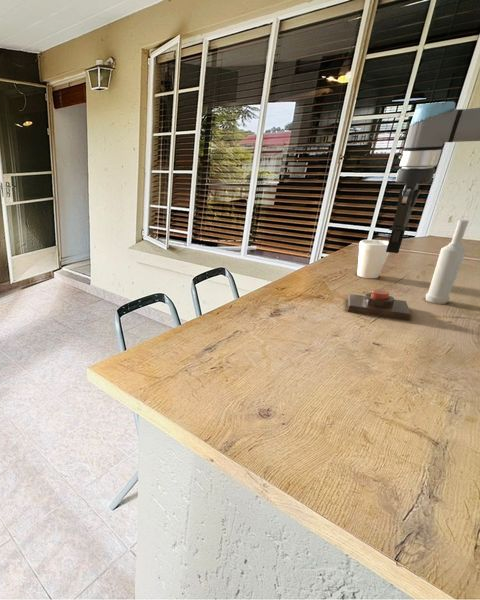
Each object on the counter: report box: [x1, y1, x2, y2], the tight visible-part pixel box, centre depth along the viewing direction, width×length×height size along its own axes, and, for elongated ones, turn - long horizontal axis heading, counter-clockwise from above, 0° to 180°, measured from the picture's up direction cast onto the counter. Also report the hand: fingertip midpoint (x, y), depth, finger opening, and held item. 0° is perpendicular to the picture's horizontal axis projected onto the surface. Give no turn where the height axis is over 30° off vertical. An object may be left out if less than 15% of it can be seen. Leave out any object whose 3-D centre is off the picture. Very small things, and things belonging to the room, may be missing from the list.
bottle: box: [425, 219, 470, 305], centre depth 105 cm, size 5×5×25 cm
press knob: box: [370, 289, 390, 300], centre depth 105 cm, size 4×4×2 cm
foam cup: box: [356, 239, 390, 279], centre depth 131 cm, size 10×9×13 cm
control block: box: [347, 292, 412, 321], centre depth 106 cm, size 14×11×4 cm
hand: (392, 252), depth 103 cm, fingers closed
